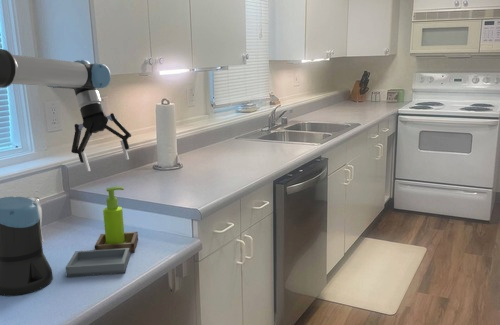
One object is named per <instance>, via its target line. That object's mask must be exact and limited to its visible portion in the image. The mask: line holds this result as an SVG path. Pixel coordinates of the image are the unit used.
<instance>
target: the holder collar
mask: <svg viewBox="0 0 500 325" xmlns="http://www.w3.org/2000/svg"><path fill="white" fill-rule="evenodd" d="M138 236H139V234H138V231H130V232H129V231H128V232H127V231H126V232H124V238H125V243H117V244H106V237H105V233H100V235H99V236H98V238H97V240H96V242H95V245H94V250H104V249H120V248H129V252H130V254H134V253H135V252H136V248H137V247H138V246H137V245H138V242H139V237H138Z"/></svg>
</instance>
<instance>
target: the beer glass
mask: <svg viewBox="0 0 500 325" xmlns="http://www.w3.org/2000/svg"><path fill="white" fill-rule="evenodd" d="M26 198H29V199H31V200H33V201H34V202H35V203H36V204H37V207H38V212H39V215H40V227H41V228H42V223H43V222H42V220H43V209H42V204H41V198H40V197H39V196H28V197H26ZM41 238H42V243H44V241H45V240H44V237H43V233H42V231H41Z"/></svg>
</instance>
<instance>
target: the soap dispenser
mask: <svg viewBox="0 0 500 325" xmlns="http://www.w3.org/2000/svg"><path fill="white" fill-rule="evenodd" d="M105 190H106V192H108V197H107V198H106V199H105V200H106V207H105V208H103V210H102V211H103V212H102V213H103V214H102V215H103V224H104V226H103V227H104V234H105V237H106V243H105V244H117V243H126V242H125V238H124V233H125V227H124V215H123V207H122V206H119V204H118V203H119V202H118V197H116V196H115V191H124V190H125V187H123V186H111V187H106V188H105Z"/></svg>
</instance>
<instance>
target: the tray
mask: <svg viewBox="0 0 500 325" xmlns="http://www.w3.org/2000/svg"><path fill="white" fill-rule="evenodd" d="M130 258H131V253H130V252H129V248H120V249H104V250H95V249H92V250H91V249H90V250H76V251H74V252H73V254H72V256H71V258H70V260H69V261H68V262H67V265H66V266H65V273H66V278H76V277H77V278H78V277H92V276H106V275H107V276H108V275H119V274H126V271H127V268H128V264H129V261H130Z"/></svg>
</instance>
